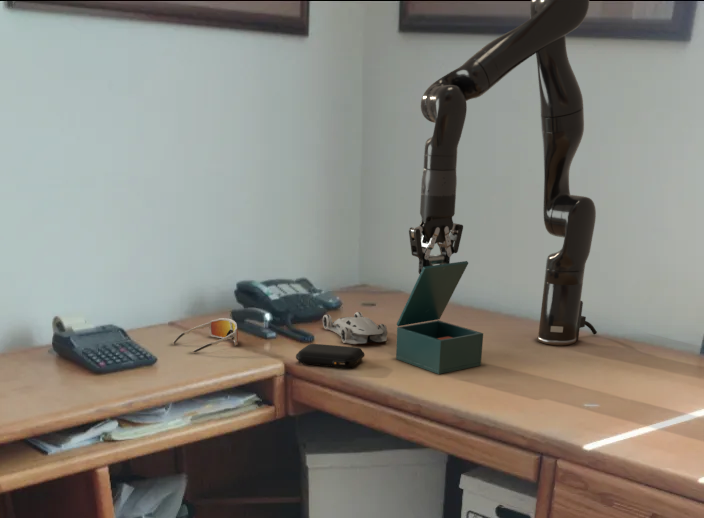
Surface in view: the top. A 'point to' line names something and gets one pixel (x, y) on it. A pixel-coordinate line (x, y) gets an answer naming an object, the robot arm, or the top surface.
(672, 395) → the top surface
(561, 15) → the robot arm
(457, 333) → the lunch tin
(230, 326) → the sunglasses
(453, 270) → the tin lid
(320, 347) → the carrying case
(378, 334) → the car model
